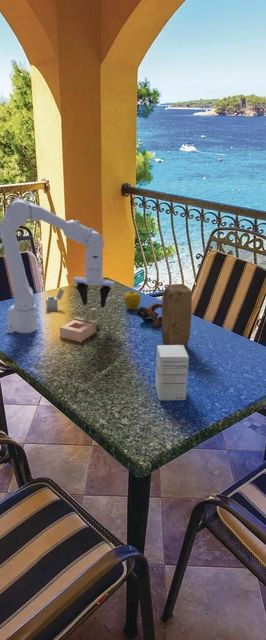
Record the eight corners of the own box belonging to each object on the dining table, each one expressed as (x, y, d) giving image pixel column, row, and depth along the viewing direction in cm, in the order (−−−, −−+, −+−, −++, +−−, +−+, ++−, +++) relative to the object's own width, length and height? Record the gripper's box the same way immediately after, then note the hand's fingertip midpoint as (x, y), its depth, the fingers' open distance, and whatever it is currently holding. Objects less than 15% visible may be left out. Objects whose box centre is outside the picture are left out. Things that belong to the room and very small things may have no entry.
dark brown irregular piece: (163, 318, 175) (171, 303, 169) (163, 337, 168) (171, 322, 162) (133, 310, 173) (140, 295, 167) (132, 329, 166) (138, 314, 160)
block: (190, 350, 147) (195, 290, 140) (168, 352, 145) (172, 292, 138) (178, 336, 157) (182, 280, 150) (157, 338, 155) (160, 282, 148)
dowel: (89, 328, 162) (89, 309, 160) (93, 325, 164) (92, 307, 162) (95, 329, 161) (95, 310, 159) (98, 327, 163) (98, 308, 161)
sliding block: (60, 337, 151) (59, 327, 150) (73, 329, 158) (73, 319, 157) (80, 342, 148) (80, 332, 147) (93, 333, 155) (93, 324, 153)
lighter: (47, 310, 177) (46, 290, 175) (46, 309, 179) (45, 289, 176) (65, 308, 180) (64, 289, 177) (63, 307, 182) (63, 287, 179)
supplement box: (154, 386, 125) (156, 344, 120) (181, 386, 125) (184, 344, 121) (157, 401, 118) (160, 356, 113) (186, 400, 118) (189, 356, 114)
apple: (121, 307, 183) (121, 288, 180) (135, 305, 185) (136, 286, 182) (128, 312, 177) (128, 293, 175) (142, 310, 180) (143, 291, 177)
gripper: (69, 268, 153) (70, 306, 158) (110, 272, 149) (109, 311, 154) (77, 263, 159) (78, 300, 164) (117, 267, 155) (116, 305, 160)
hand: (94, 305), depth 160 cm, fingers open, 6 cm apart
